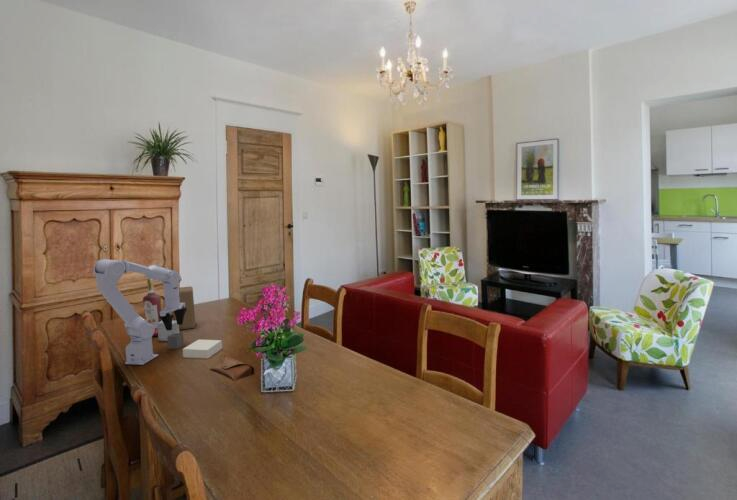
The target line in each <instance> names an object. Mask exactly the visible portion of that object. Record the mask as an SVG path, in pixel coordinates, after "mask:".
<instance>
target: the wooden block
mask: <svg viewBox="0 0 737 500" xmlns="http://www.w3.org/2000/svg"><path fill="white" fill-rule="evenodd" d="M178 288H179V299H180V303H185V307H184V308H187V310H186V312H185V315H184V319H183V324H182V325H179V331H181V330H182V329H183V330H189V329H190V330H191V329H195V328H196V315H195V314H196V313H195V303H194V302H195V300H194V288H193V286H182V287H178ZM171 313H172V314H171V315H174V316H173V319H172V321H176V316H175V313H174V311H173V312H171Z"/></svg>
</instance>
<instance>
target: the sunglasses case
mask: <svg viewBox="0 0 737 500" xmlns="http://www.w3.org/2000/svg"><path fill="white" fill-rule="evenodd" d="M209 369H210V371H212V370H213V372H216V373H218V374H219V375H222V376H225V377H227V378H230V379H231V380H232V381H234V382H237V381H239V380H241V379H243V378H246V377H249V376H250V375H252V374H254V373H255V368H254V367H253V366H252V365H251V364H248V363H245V362H243V361H240V360H237V359H235V358H233V357H231V356H227V355H225V354H224V355H223V356H222V357H221V359H219V360H218V361H217V362H216V363H215V364H213V365H212V366H211V367H210V368H209Z"/></svg>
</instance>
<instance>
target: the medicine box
mask: <svg viewBox="0 0 737 500" xmlns="http://www.w3.org/2000/svg"><path fill="white" fill-rule="evenodd" d="M157 328H158V336H157V337H158V341H159V342H168V340H167V337H168V336H169V335H171V334H173V333H180V330H179V325H178V324H177V321H173V320H172V330H166V328H165V325H164V323H163V321H162V320H161V322H159V323H157Z"/></svg>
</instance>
